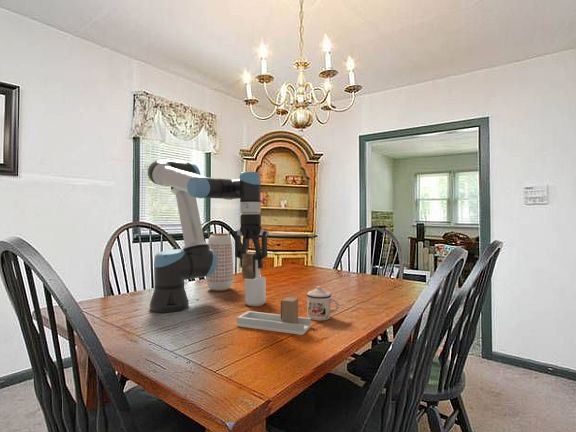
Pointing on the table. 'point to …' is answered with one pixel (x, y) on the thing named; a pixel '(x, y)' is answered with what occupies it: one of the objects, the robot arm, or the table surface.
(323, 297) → the teacup with lid
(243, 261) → the block
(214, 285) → the white patterned vase
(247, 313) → the rail
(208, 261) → the robot arm
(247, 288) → the mug
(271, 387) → the table surface
